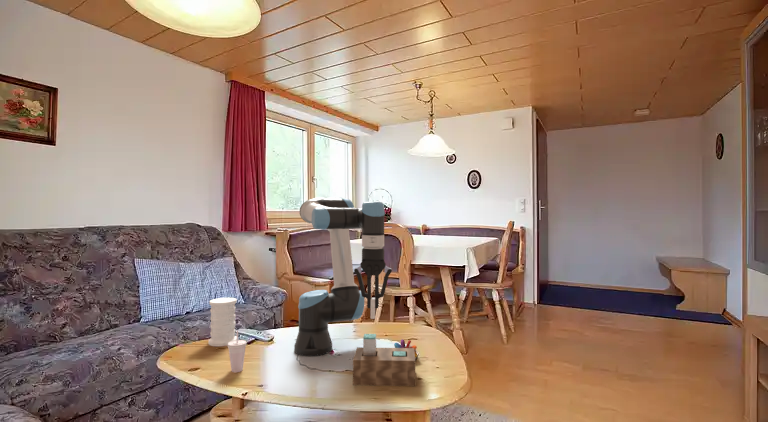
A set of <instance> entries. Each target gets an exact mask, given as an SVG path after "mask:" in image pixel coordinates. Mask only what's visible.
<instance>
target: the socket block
mask: <svg viewBox="0 0 768 422" xmlns="http://www.w3.org/2000/svg"><path fill="white" fill-rule="evenodd" d="M355 349H356V350H355V353H354V355H353V357H352V386H379V387H380V386H382V387H383V386H389V387H390V386H391V387H394V386H395V387H416V358H415V353H414V348H395V347H376V356H363V347H356V348H355ZM394 351H405V352H406V357H393V355H394Z"/></svg>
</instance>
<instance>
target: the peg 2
mask: <svg viewBox="0 0 768 422" xmlns="http://www.w3.org/2000/svg"><path fill="white" fill-rule="evenodd" d="M393 357H406V352H405V351H394V355H393Z"/></svg>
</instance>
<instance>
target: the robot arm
mask: <svg viewBox="0 0 768 422" xmlns="http://www.w3.org/2000/svg"><path fill="white" fill-rule="evenodd" d="M385 214H386V212H385V204H384V203H383V202H382V201H364V202H363V203H362V206H361V207H355V206H354V203H353V201H352V200H351V199H349V198H346V197H345V198H343V197H313V198H310V199H307V200H306V201H305V202H303V203H302V204H301V205H300V207H299V216H300V218H301V219H302V220H303V221H304V222H305V223H308V224H311V225H312V228H313V229H314V230H324V231H325V230H327V231H328V232H329V238H330V240H329V241H330V252H331V262H332V275H333V277H332V278H333V286H332V287H331V288H330V293H329V291H328V289H315V290H310V291H306V292H304V293H302V294H301V295H300V296H299V298H298V306H297V308H298V333H297V336H296V340H295V343H294V346H293V347H294V350H293V352H294V353H295V354H297V355H299V356H306V357H313V356H314V357H315V356H316V357H317V356H321V355H325V354H328V353H330V352H331V351H332V350H333V342H332V338H331V334H330V332H329V323H336V322H344V321H345V322H346V321H347V322H348V321H349V322H350V321H355V320H358V319H360V318H362V316H363V313H364V309H365V299H366V308H367V309H370V319H372V320H375V319H376V309H379V307H380V306H379V303H380V301H379V300H380V298H383V297H384V296H385V292H386V289H387V284H388V280H389V276H390V275H391V273H392V272H393V269H392V268H391V267H389V266H387V264H386V262H385V248H384V247H385ZM350 230H361V247H363V248H362V249H361V262H360V265H359V266H357V267H355V268H354V267H353V259H352V258H353V257H352V249H351V248H352V247H351V238H350ZM383 270H384V273H385V274H384V278H383V283H382V286H381V289H380V287H379V285H380V284H379V283H380V282H379V281H380V277H379V276H380V275H381V274H382V272H383ZM362 271H364V272H363V273H365V275H366V280H367V281H366V282H367V283H366V286H367V287H366V289H365V285H364V280H363V276H362ZM354 274H355V275H356V276H357V281H358V285H357V284H356V283H355V277H354ZM372 276H374V297H372ZM380 290H381V291H380Z"/></svg>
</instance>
